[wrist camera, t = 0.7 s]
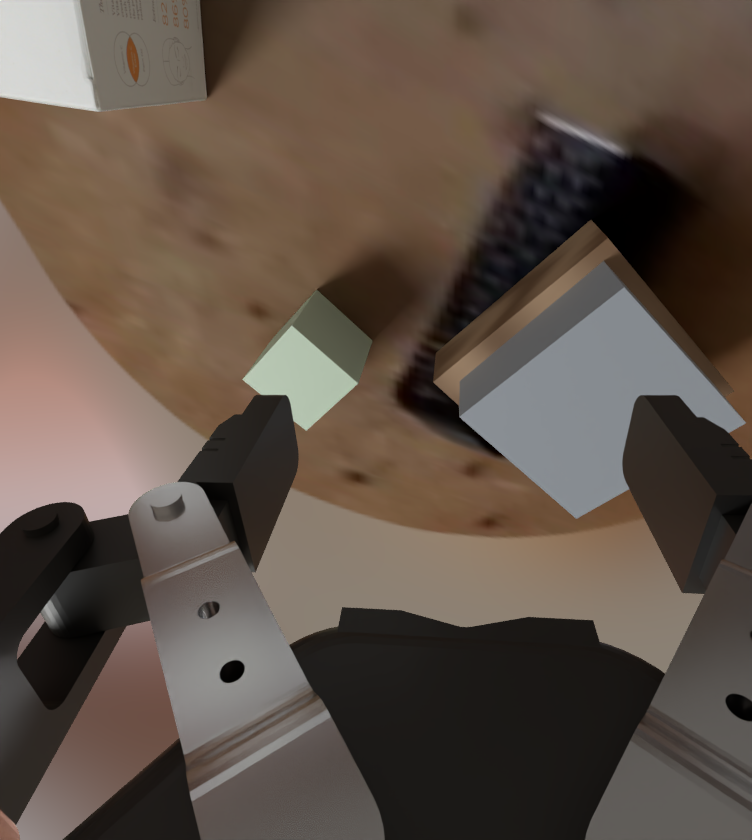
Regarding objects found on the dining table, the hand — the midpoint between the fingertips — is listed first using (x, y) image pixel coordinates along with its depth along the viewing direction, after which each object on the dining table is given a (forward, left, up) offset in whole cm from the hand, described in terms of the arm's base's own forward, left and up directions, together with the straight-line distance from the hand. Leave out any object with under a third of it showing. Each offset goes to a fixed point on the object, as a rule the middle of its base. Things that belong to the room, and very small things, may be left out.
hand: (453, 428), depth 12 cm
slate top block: (0, +11, -17) cm, 21 cm away
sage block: (+12, -1, -21) cm, 24 cm away
